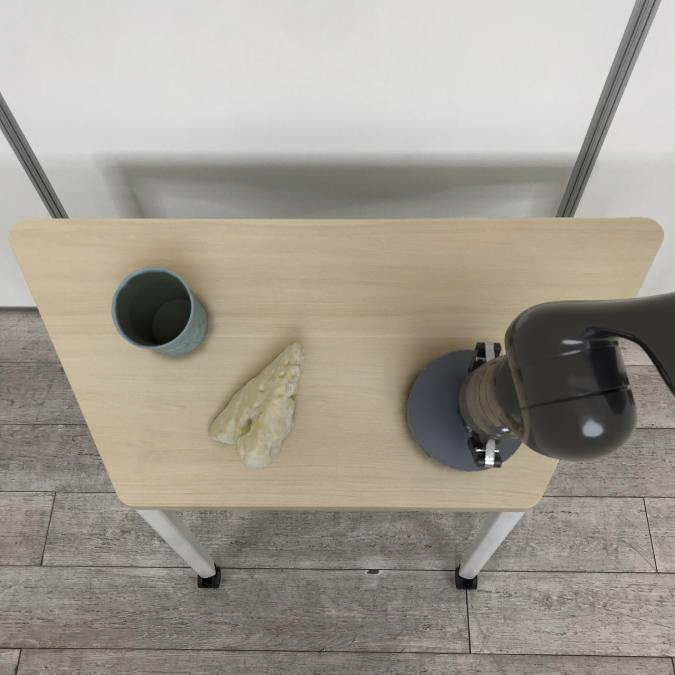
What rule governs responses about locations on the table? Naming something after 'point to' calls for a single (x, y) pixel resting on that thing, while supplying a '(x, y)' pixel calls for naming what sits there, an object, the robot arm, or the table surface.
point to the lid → (446, 413)
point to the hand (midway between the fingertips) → (471, 408)
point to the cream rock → (262, 410)
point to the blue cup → (159, 312)
